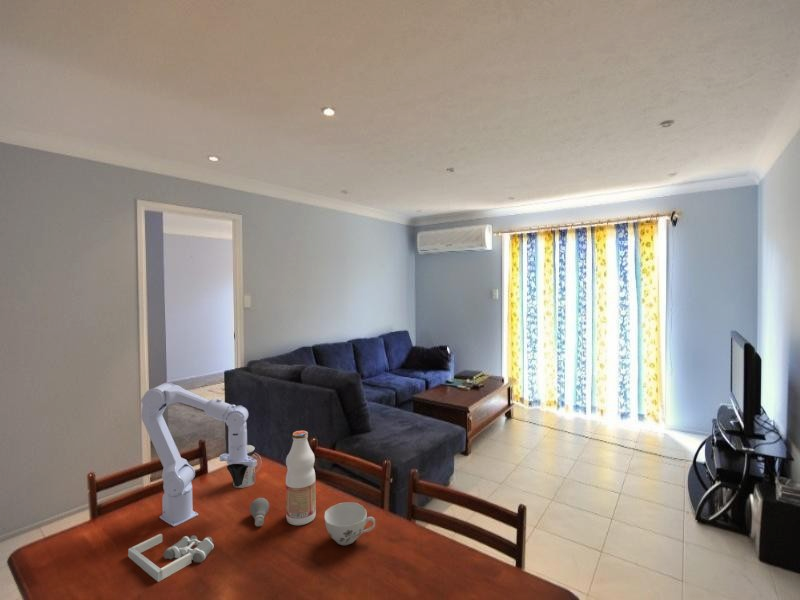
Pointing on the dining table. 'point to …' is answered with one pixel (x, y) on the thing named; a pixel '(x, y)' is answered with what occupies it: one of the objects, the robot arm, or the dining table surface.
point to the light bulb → (259, 510)
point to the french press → (249, 471)
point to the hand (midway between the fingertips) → (238, 485)
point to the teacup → (347, 522)
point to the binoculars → (185, 547)
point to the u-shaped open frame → (150, 567)
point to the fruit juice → (300, 481)
